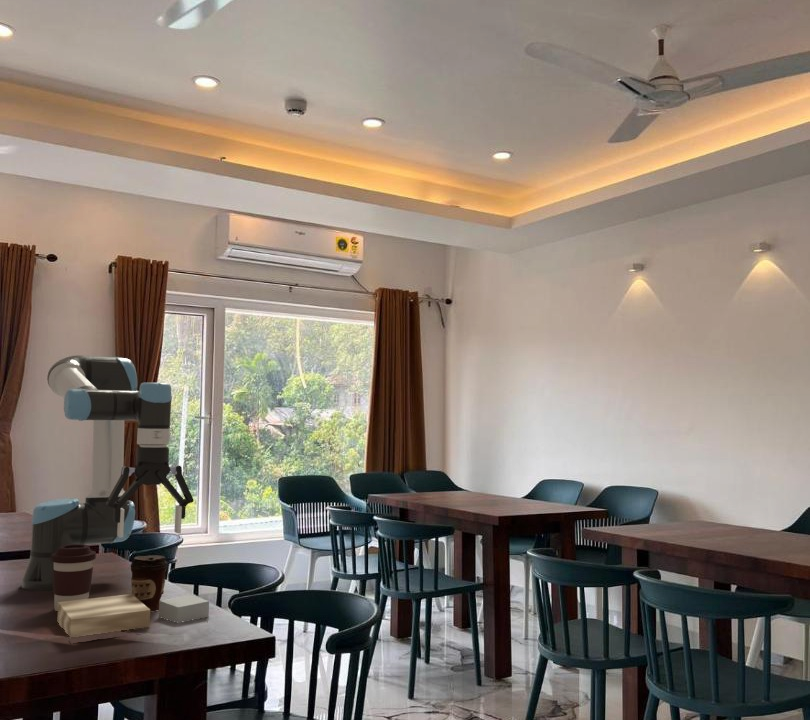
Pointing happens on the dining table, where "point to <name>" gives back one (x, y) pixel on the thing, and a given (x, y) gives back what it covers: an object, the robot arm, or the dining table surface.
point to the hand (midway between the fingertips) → (149, 534)
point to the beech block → (102, 615)
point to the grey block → (183, 608)
